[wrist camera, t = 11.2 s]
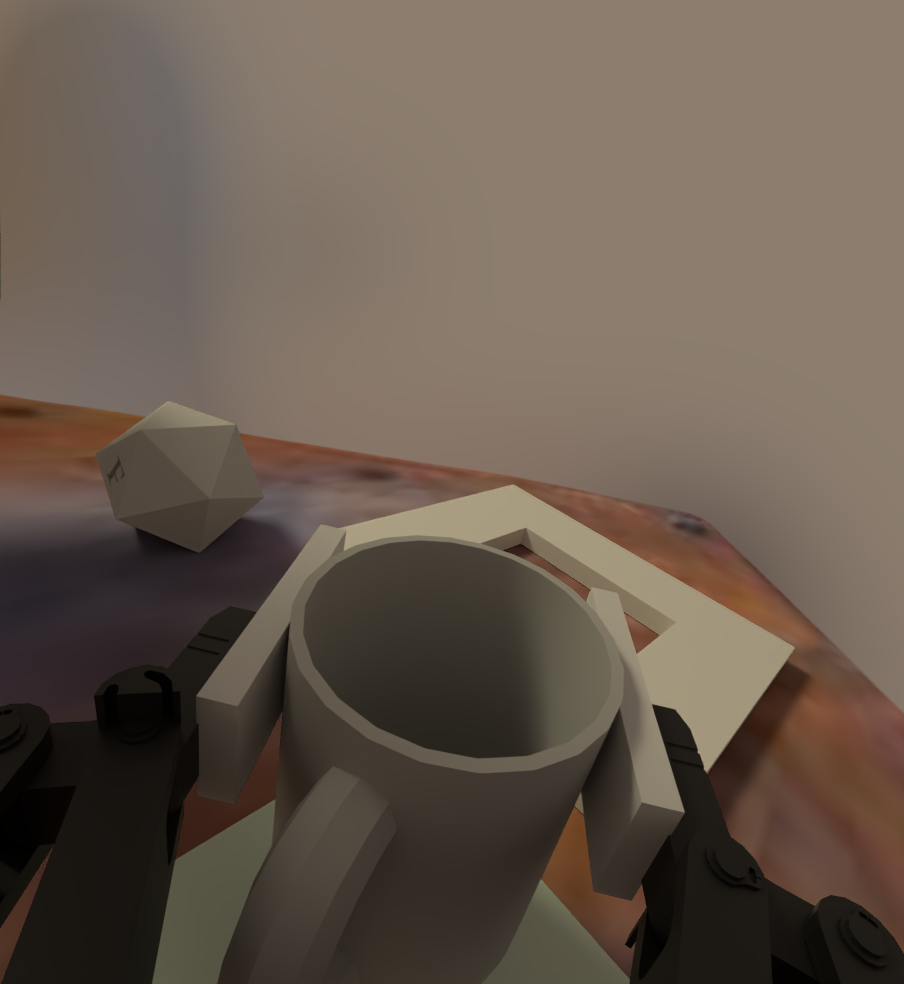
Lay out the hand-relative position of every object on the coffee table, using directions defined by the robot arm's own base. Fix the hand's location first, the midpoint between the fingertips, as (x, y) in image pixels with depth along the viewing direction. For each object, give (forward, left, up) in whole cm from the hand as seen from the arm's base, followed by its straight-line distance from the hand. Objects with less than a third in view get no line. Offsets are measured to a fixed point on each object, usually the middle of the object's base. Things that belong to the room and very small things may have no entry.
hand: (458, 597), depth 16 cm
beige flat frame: (-5, +16, -11) cm, 20 cm away
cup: (+3, -4, -7) cm, 9 cm away
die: (-23, 0, -11) cm, 25 cm away
